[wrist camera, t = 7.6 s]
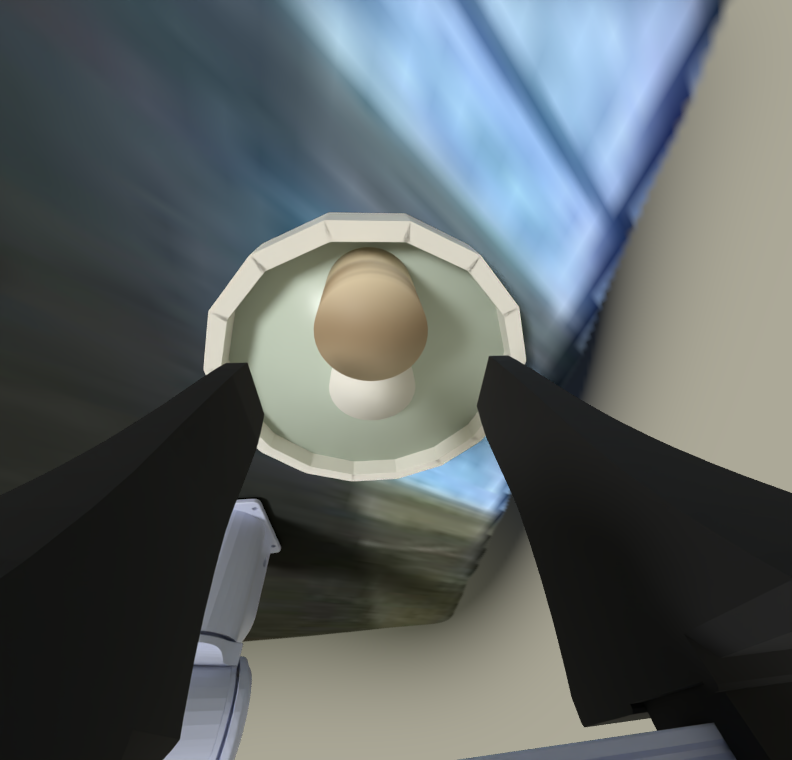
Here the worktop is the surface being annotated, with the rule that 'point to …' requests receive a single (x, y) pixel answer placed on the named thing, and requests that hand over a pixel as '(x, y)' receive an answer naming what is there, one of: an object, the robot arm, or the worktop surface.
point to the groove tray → (350, 398)
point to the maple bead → (370, 316)
